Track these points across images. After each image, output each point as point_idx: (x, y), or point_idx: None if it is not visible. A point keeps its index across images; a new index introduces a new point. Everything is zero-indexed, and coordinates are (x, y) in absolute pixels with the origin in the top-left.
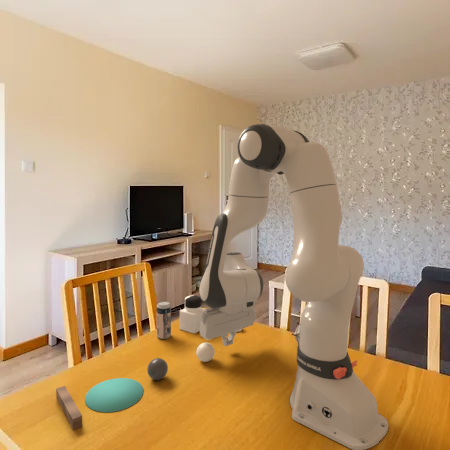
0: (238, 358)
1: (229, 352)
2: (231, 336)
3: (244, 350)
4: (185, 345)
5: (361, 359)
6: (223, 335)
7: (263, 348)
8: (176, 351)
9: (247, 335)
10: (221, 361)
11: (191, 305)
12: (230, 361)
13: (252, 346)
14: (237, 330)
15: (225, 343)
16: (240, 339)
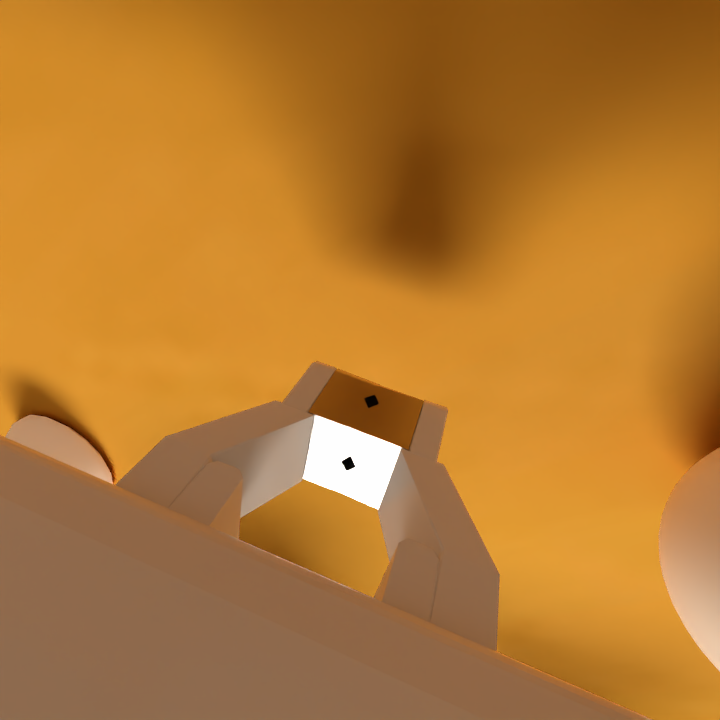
0: (471, 132)
1: (399, 327)
2: (273, 456)
3: (236, 201)
4: (524, 655)
5: None
6: (486, 623)
7: (7, 6)
8: (667, 689)
9: (32, 341)
10: (698, 297)
11: None
12: (634, 183)
13: (101, 175)
14: (64, 438)
15: (438, 444)
16: (122, 359)
